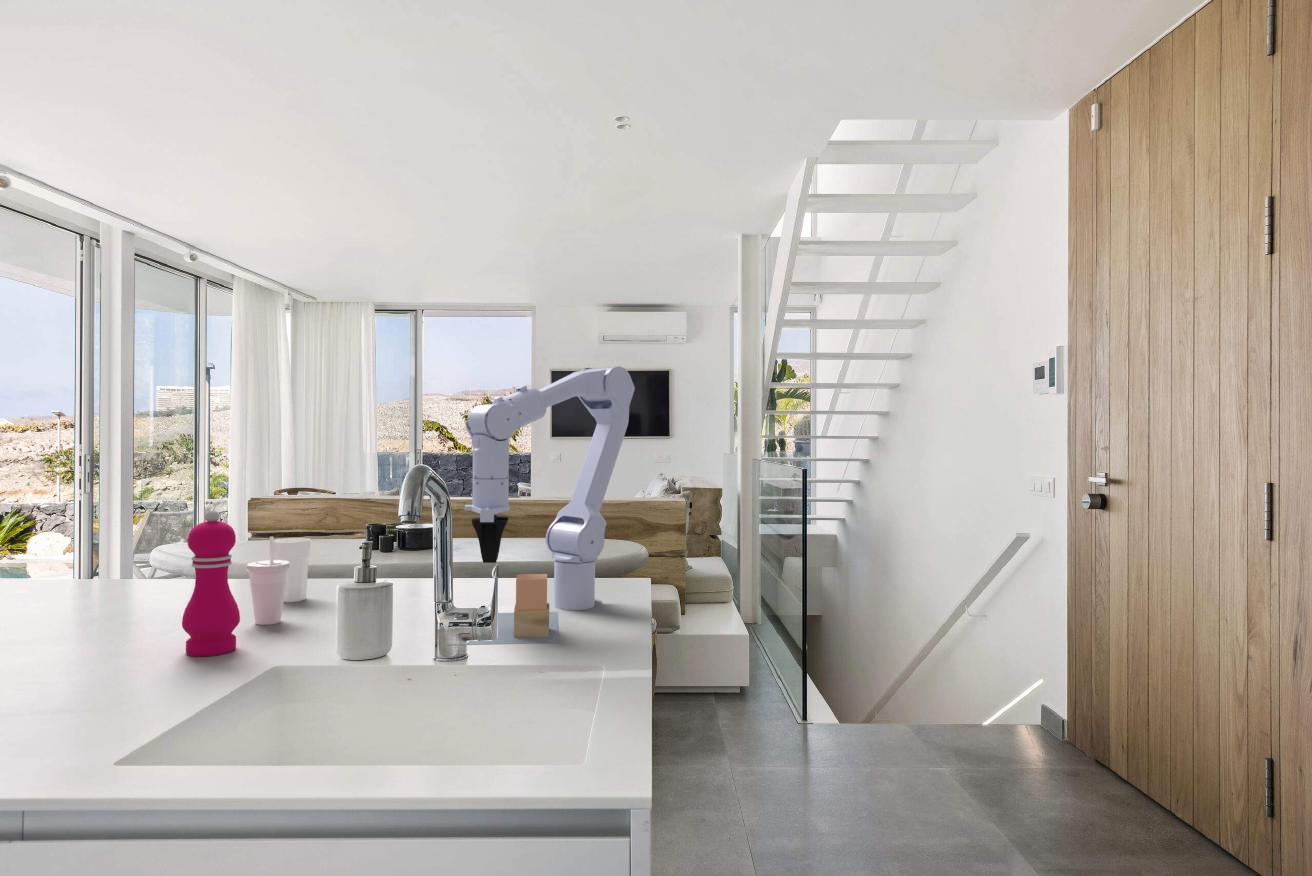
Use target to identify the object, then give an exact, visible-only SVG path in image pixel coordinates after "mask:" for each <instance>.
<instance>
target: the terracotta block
mask: <svg viewBox="0 0 1312 876" xmlns="http://www.w3.org/2000/svg"><path fill="white" fill-rule="evenodd" d="M547 603H548V573H526V574H523V573H521V574H517V575H516V578H515V604H516V610H547Z"/></svg>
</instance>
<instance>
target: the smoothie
mask: <svg viewBox="0 0 1312 876" xmlns="http://www.w3.org/2000/svg"><path fill="white" fill-rule="evenodd" d="M273 540H275V539H274V536H269V560H268V559H267V560H258V561H252V562H248V563H247V564H246V572H248V576H249V582H250V583H249V585H250V591H251V592H250V593H251V599H252V607H253V616H254V623H255V624H256V625H259V626H267V625H268V626H270V625H275V624H279V623H281V620H282V615H283V613H282V612H283V606H284V602H283V599H284V592H285V585H286V578H287V571H288V569H289V568H290V567H289V565H290V562H288V561H284V560H273Z"/></svg>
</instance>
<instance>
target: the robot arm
mask: <svg viewBox="0 0 1312 876" xmlns="http://www.w3.org/2000/svg"><path fill="white" fill-rule="evenodd" d="M635 390H636V388H635V385H634V382H633V380H632V377H631V374H630V373H629V372H628V370H627V369H626V368H625V367H622V366H613V367H605V368H602V367H601V368H583V369H581V370H578V371H573V372H572V373H570V374H568V375H566V376H564V377H562V378H560V379H558V380H556V381H554V382H552V383H550V384H548V385H546V386H544V387H542V388H540V389H537V388H535V387H533V386H527V385H521V386H520V385H519V386H517V387H516V388H515V391H516V392H513V393H511V394H508V395H506V396H497V397H494V398H493V402H492V403H490V404H478V405H476V406H475V407H474V408H473V409H472V411H470V412H469V415H468V419H467V420H465V422H464V424H465V429H466V431H467V433H468V434H469V436H470V439H471V446H472V497H471V498H472V499H471V500H472V504H465V506H464V510H465V511H471V512H474V513H477V514H479V517H478V518H477V517H476V518H475V517H474V518H472V519H471V524H472V526H473V529H474V530H475V533H476V536H477V539H478V545H479V548H480V549H479V550H480V554H481V560H482V562H483V563H482V564H496V563H497V560H498V557H499V553H500V546H501V541H502V538H503V533H504V530H505V527H506V525H507V523H508V521H509V516H498V514H500V513H501V514H502V513H505V512H509V511H510V510H511V507H510V506H511V505H510V504H509V495H510V494H509V488H510V487H509V484H510V481H509V476H510V475H509V471H510V469H509V468H510V467H509V466H510V465H509V463H510V439H511V438H512V437H513V436H514V434H515V433H516V431H517V430H519V429H521V428H523V427H525V426H528V425H529V424H532V423H534V422H537V421H538V420H540V419H543V418H544V417H545V415H546V412H547V408H549V407H552V406H555V405H558V404H560V403H562V402H564V401H565V402H566V401H567V400H569V399H572V398H574V397H578V399H579V400H580V401H581V403H582V404H583V406H584V407H585V408H586V409H587V411H588V412H589V413H590V415H591V416H592V417H593V418H594V420H595V422H596V425H595V429H594V432H593V435H592V438H591V440H590V444H589V447H588V449H587V452H586V455H585V458H584V461H583V464H582V466H581V470H580V473H579V476H578V479H577V482H576V484H575V488H574V490H573V494H572V496H571V500H570V502H568V503H567V505H565V506H564V507H562V508H561V509H560V510H559V511H558V512H557V515H556V517H555V519H554V521H553V522H552V523H551V524H550V525H549V527H548V529H547V531H546V534H545V544H546V546H547V548H548V550H549V551H550V552H551V553H552V554H551V555H552V556H551V558H552V559H553V560H554V565H553V570H554V571H553V572H554V573H553V575H554V576H553V577H554V578H553V607H554V608H556V609H558V610H563V611H582V610H589V609H592V608H594V607H595V604H596V603H595V602H596V600H595V599H596V598H595V597H596V596H595V595H596V581H595V580H596V562H597V561H598V557H600V555H601V554H602V552H603V549H604V548H605V531H606V527H607V521H606V520H605V518H604V516H603V515H602V513H601V512H600V511H601V509H602V505H603V502H604V499H605V495H606V494H607V490H608V487H609V485H610V480H611V477H612V474H613V472H614V468H615V465H616V461H617V459H618V456H619V453H620V450H621V447H622V445H623V441H624V438H625V435H626V432H627V429H628V425H629V420H630V419H629V417H630V405H631V402H632V399H633V396H634V392H635Z"/></svg>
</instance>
